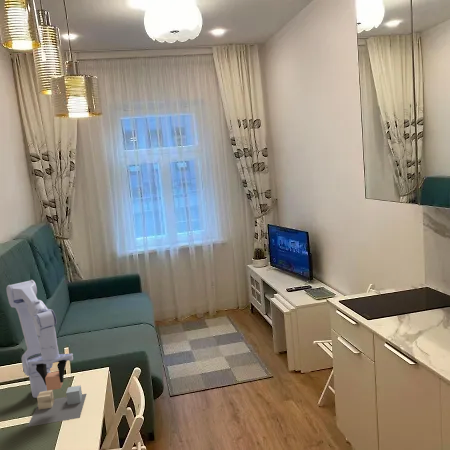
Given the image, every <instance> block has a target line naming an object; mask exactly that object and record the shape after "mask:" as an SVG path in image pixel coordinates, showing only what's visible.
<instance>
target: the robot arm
mask: <svg viewBox="0 0 450 450" xmlns="http://www.w3.org/2000/svg"><path fill="white" fill-rule="evenodd" d="M37 294H38V288H37V284H36V282H35V280H33V279H30V280H27V281H22V282H18V283H13V284H8V285H7V286H6V296H7V300H8V304H9V305H10V307H11V308H13V309H14V308H15V310H16V312H17V315H18V319H19V322H20V327H21V331H22V334H23V337H24V342H25V345H26V350H25V352H24V353H23V354H22V355H21V362H22V363H21V365H22V369H23V372H24V375H26V376H28V378H29V383H30V389H31V394H32V395H31V397H33V398H34V399H35V398H36V399H37V397H38V395H39V393H40V392H43V391H47V387H46V380H45V378H46V376H47V374H48V373H51V372H52V371H51V369H52V368H53V365H54V364H55V363H57V371H59V375H60V382H61V383H62V382H63V383H64V375H65V369H66V364H67V362H68V361H70V362H71V361H74V356H73V355H74V354H73V353H60V352H59V346H58V338H57V332H56V326H57V316H56V313H55V312H54V309H50V308H48V307H47V305H46V304H45V303H44V302H43V300H41V299H38V297H37ZM48 391H49V390H48Z"/></svg>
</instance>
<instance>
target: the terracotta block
mask: <svg viewBox="0 0 450 450" xmlns="http://www.w3.org/2000/svg"><path fill="white" fill-rule="evenodd" d="M50 372H51V373H48V374H47V376H46V378H45V380H46V387H47V391H48V390H53V391H54V390H59V389H60V390H61V388H62V386H63V384H64V381H63V382H62V383H61V382H60V375H59V370H57V371H53V372H52V371H50Z"/></svg>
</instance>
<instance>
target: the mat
mask: <svg viewBox="0 0 450 450" xmlns="http://www.w3.org/2000/svg"><path fill="white" fill-rule="evenodd" d="M86 397H87V393H82V400H81V403H76V404H70V405H68V403H67V396H65V397H58V398H54V404H53V406H52V408H46V409H40V410H39V407H38V405H37V406H36V408H35V410H34V412H33V414H32V417H31V418H30V420H29V422H28V424H27V427H30V428H31V427H34V426H40V425H45V424H46V425H47V424H50V423H51V424H52V423H57V422H63V421H69V420H76V419H80V418H81V415H82V411H83V409H84V408H83V407H84V404H85V402H86V401H85V400H86ZM27 427H26V428H27Z"/></svg>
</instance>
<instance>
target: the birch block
mask: <svg viewBox="0 0 450 450" xmlns="http://www.w3.org/2000/svg"><path fill="white" fill-rule="evenodd" d="M36 399H37V400H36V401H37V406H38V407H39V410H40V409H46V408H52V406H53V404H54V399H55V397H54V390H49V391H43V392H40V393H39V395H38V397H37V398H36Z"/></svg>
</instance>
